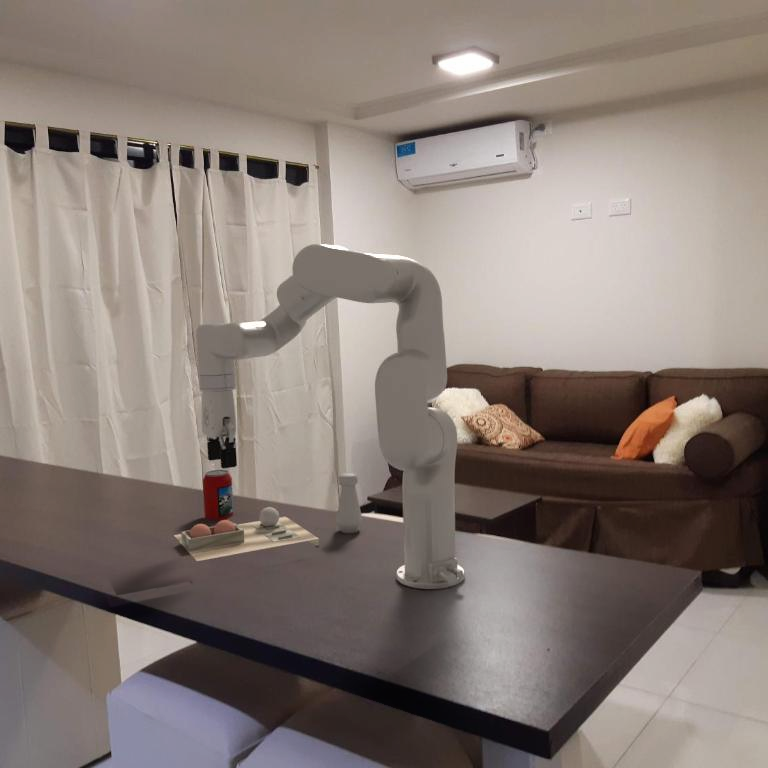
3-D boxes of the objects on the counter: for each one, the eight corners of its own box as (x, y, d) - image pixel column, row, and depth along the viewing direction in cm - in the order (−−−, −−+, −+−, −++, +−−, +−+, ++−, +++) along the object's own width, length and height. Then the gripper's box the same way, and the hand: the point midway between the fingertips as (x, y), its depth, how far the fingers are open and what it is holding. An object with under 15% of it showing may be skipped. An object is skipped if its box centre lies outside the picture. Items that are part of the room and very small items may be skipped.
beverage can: (230, 525, 180) (227, 475, 179) (201, 526, 181) (199, 475, 179) (236, 517, 187) (234, 468, 186) (209, 517, 187) (206, 469, 186)
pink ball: (214, 545, 161) (212, 525, 160) (193, 549, 159) (191, 528, 158) (208, 540, 165) (207, 520, 164) (187, 543, 163) (186, 523, 162)
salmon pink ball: (218, 545, 161) (217, 524, 161) (212, 539, 165) (211, 519, 164) (238, 541, 163) (237, 521, 163) (232, 535, 167) (231, 516, 166)
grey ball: (282, 527, 172) (281, 508, 171) (263, 530, 170) (262, 511, 169) (275, 522, 176) (274, 503, 175) (257, 525, 174) (256, 506, 173)
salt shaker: (351, 536, 169) (349, 478, 168) (331, 532, 173) (329, 475, 171) (367, 529, 174) (365, 472, 173) (348, 525, 177) (346, 470, 176)
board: (319, 545, 163) (318, 527, 163) (197, 568, 151) (196, 548, 151) (285, 522, 181) (285, 506, 181) (174, 541, 169) (173, 524, 169)
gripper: (189, 381, 166) (194, 459, 168) (211, 387, 151) (216, 473, 153) (223, 378, 170) (227, 454, 172) (247, 384, 155) (252, 468, 156)
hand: (222, 463), depth 162 cm, fingers open, 9 cm apart
